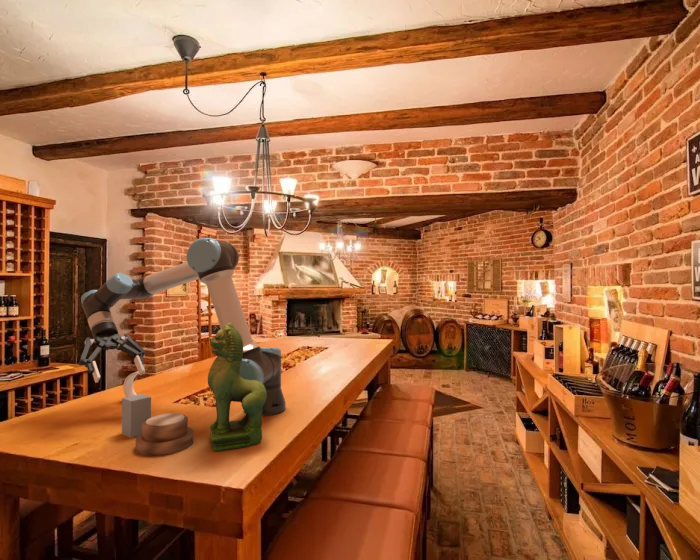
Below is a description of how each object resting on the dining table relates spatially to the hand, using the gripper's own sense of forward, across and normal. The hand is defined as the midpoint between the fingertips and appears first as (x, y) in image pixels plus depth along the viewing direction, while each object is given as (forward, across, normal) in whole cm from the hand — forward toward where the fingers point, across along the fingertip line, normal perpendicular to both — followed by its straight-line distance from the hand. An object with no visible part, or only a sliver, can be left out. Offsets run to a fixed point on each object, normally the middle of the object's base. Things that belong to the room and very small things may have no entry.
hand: (121, 376), depth 130 cm
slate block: (+19, 0, -3) cm, 19 cm away
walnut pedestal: (+31, -1, +8) cm, 32 cm away
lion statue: (+41, -15, +18) cm, 47 cm away
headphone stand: (-6, -15, -29) cm, 34 cm away
